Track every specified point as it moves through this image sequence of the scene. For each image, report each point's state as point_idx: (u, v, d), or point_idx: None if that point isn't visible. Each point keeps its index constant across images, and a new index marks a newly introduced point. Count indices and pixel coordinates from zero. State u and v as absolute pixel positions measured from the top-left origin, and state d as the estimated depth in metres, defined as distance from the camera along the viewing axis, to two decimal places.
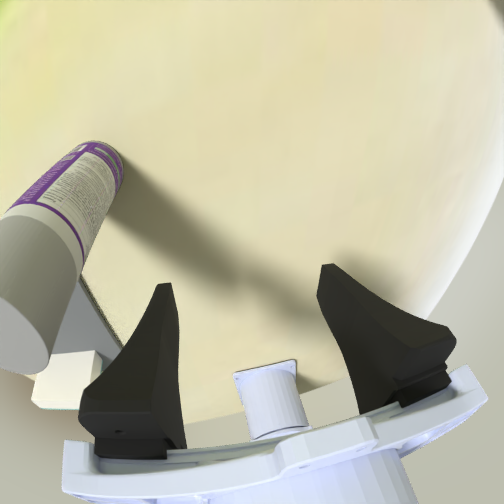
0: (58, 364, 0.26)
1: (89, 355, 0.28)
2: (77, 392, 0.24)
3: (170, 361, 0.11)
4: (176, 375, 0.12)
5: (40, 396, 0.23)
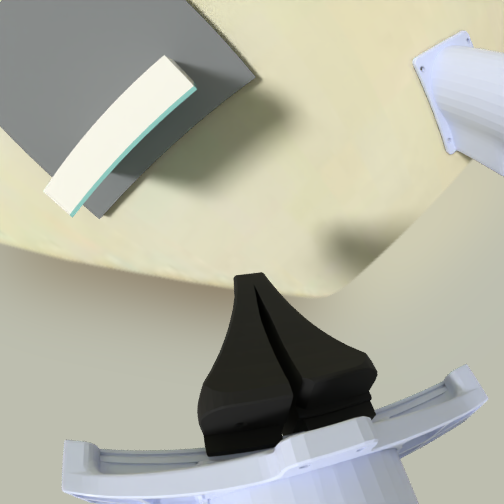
0: None
1: None
2: None
3: None
4: None
5: None
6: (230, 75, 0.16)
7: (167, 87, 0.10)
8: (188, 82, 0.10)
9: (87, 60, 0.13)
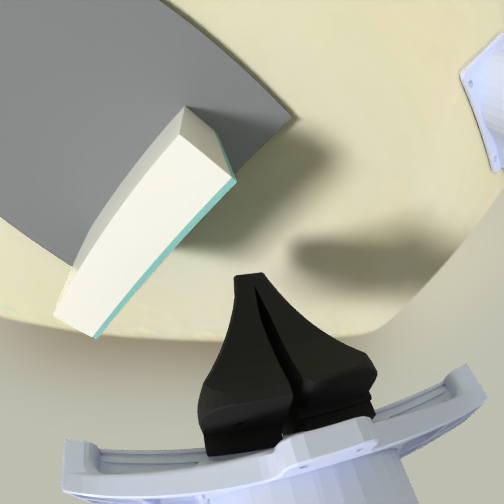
0: (113, 197, 0.12)
1: (174, 118, 0.12)
2: (149, 164, 0.08)
3: None
4: None
5: (67, 284, 0.09)
6: (260, 118, 0.13)
7: (193, 183, 0.08)
8: (223, 173, 0.08)
9: (71, 116, 0.11)
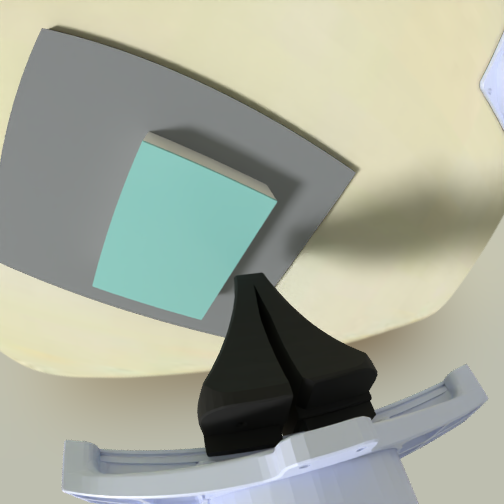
0: None
1: None
2: None
3: None
4: None
5: None
6: (331, 180, 0.15)
7: None
8: (143, 140, 0.11)
9: None
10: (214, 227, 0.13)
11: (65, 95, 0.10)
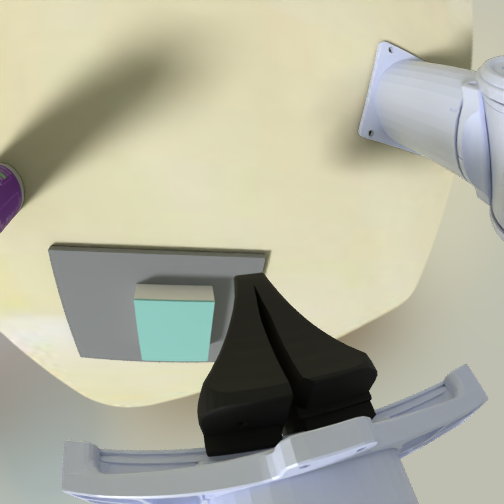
0: None
1: None
2: None
3: None
4: None
5: None
6: (251, 268, 0.25)
7: None
8: (134, 296, 0.22)
9: None
10: (189, 322, 0.24)
11: (84, 279, 0.22)
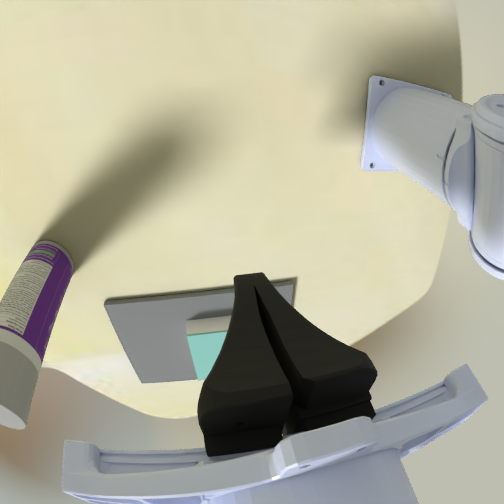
0: None
1: None
2: None
3: None
4: None
5: None
6: (282, 294, 0.29)
7: None
8: None
9: None
10: None
11: (139, 323, 0.27)
